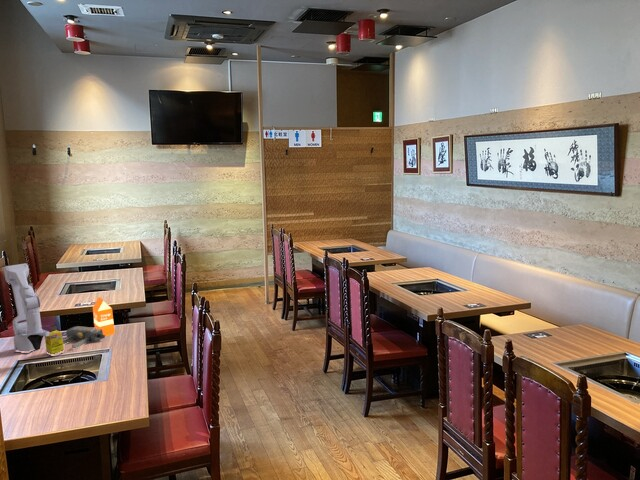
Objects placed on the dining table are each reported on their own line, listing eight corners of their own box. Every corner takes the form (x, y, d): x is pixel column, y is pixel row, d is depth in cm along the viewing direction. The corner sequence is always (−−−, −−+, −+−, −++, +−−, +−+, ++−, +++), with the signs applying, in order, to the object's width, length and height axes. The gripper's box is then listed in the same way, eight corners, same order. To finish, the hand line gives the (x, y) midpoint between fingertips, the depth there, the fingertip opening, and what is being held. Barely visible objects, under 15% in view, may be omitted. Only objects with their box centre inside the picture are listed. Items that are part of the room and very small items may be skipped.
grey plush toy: (50, 347, 253) (49, 336, 252) (75, 335, 269) (74, 324, 268) (84, 351, 247) (83, 340, 246) (108, 338, 263) (106, 328, 262)
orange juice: (109, 329, 277) (106, 295, 273) (114, 333, 270) (111, 298, 266) (94, 333, 272) (91, 298, 268) (100, 337, 265) (96, 301, 262)
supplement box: (52, 357, 241) (49, 336, 239) (46, 354, 245) (43, 333, 243) (64, 353, 246) (62, 332, 244) (58, 350, 249) (56, 329, 247)
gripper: (14, 323, 230) (18, 351, 233) (39, 326, 226) (42, 354, 229) (27, 318, 237) (30, 345, 240) (51, 320, 233) (54, 348, 235)
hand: (37, 349), depth 235 cm, fingers closed
